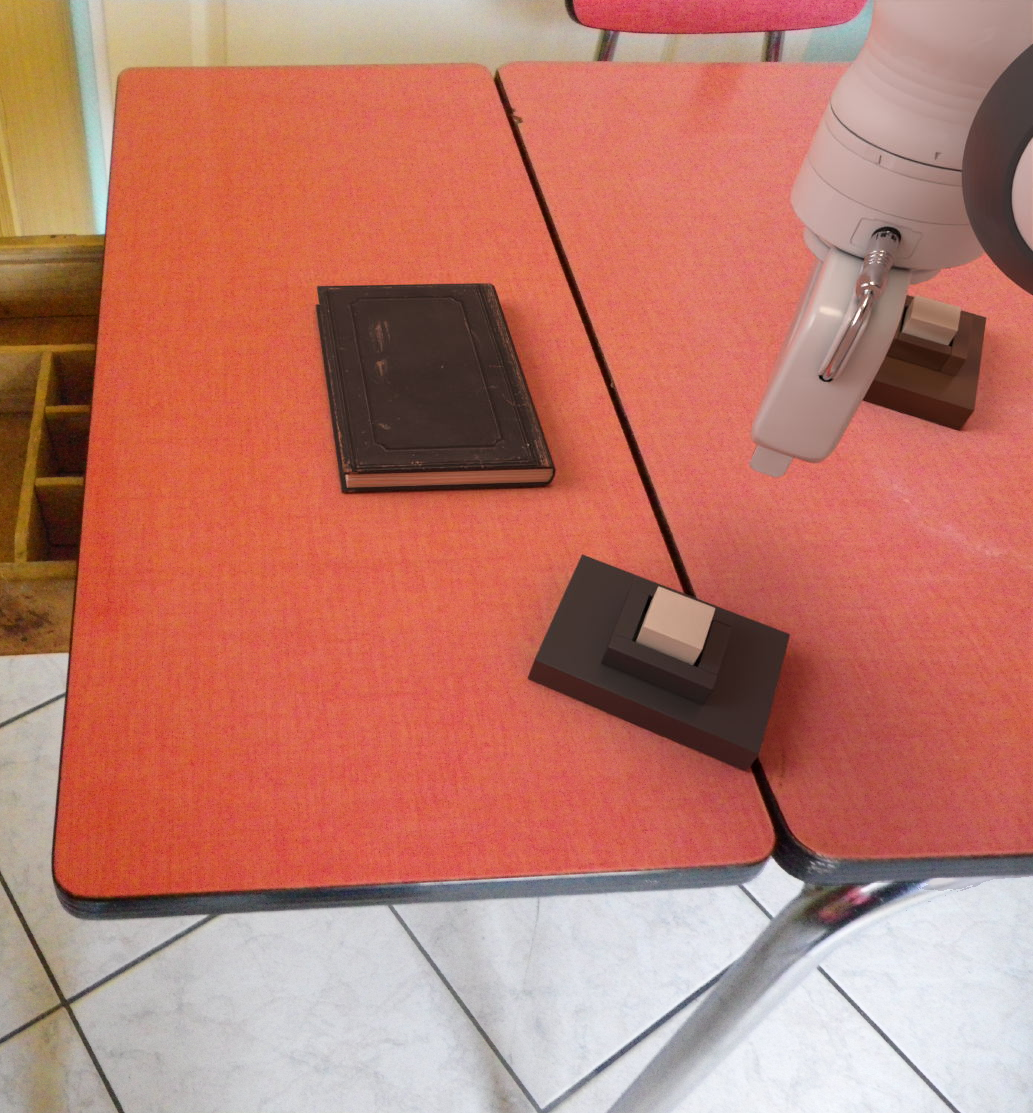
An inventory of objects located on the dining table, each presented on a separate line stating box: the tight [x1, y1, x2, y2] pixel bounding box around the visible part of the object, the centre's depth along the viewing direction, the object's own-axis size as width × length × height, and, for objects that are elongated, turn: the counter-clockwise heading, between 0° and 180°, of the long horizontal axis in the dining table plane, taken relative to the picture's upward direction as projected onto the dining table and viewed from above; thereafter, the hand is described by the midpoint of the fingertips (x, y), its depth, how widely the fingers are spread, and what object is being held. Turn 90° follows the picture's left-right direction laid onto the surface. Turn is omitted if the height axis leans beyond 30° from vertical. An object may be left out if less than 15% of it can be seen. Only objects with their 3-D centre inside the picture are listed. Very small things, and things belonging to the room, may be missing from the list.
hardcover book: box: [315, 282, 557, 494], centre depth 83 cm, size 16×23×2 cm
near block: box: [527, 554, 791, 772], centre depth 65 cm, size 14×10×4 cm
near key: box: [636, 587, 715, 665], centre depth 63 cm, size 4×4×2 cm
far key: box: [902, 294, 962, 346], centre depth 85 cm, size 4×4×2 cm
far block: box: [862, 294, 987, 431], centre depth 87 cm, size 14×10×4 cm
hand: (784, 414), depth 57 cm, fingers open, 8 cm apart
